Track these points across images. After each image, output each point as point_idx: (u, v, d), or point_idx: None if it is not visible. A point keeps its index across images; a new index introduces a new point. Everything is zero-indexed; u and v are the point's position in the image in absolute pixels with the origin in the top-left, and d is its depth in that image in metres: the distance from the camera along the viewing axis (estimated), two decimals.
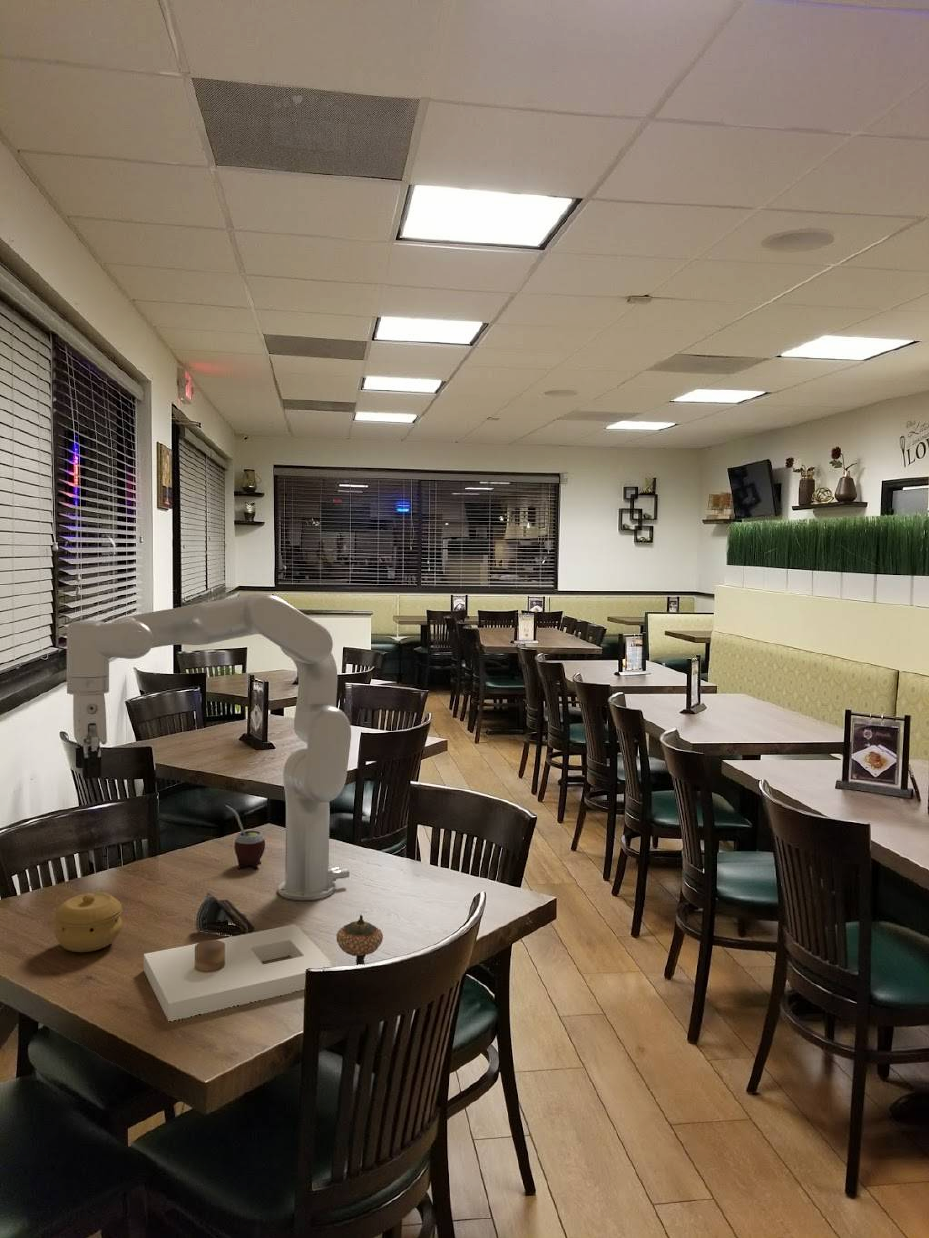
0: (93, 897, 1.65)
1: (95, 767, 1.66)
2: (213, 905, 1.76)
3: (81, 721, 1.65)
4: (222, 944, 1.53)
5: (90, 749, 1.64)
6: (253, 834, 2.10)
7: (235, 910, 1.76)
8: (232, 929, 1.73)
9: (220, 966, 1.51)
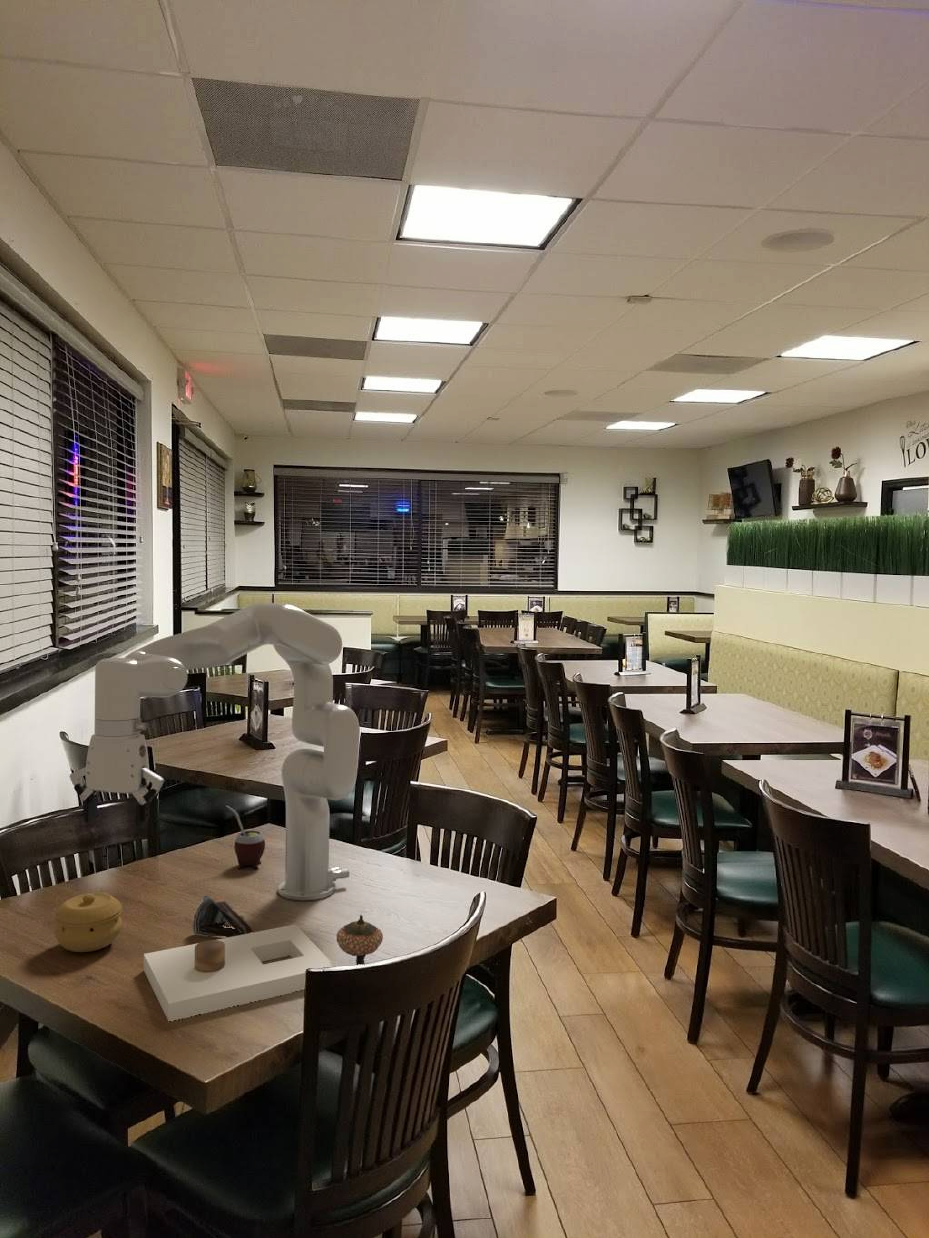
0: (93, 897, 1.65)
1: (148, 812, 1.57)
2: (210, 907, 1.74)
3: (136, 766, 1.54)
4: (222, 944, 1.53)
5: (154, 792, 1.56)
6: (253, 834, 2.10)
7: (233, 912, 1.75)
8: (230, 931, 1.72)
9: (220, 966, 1.51)
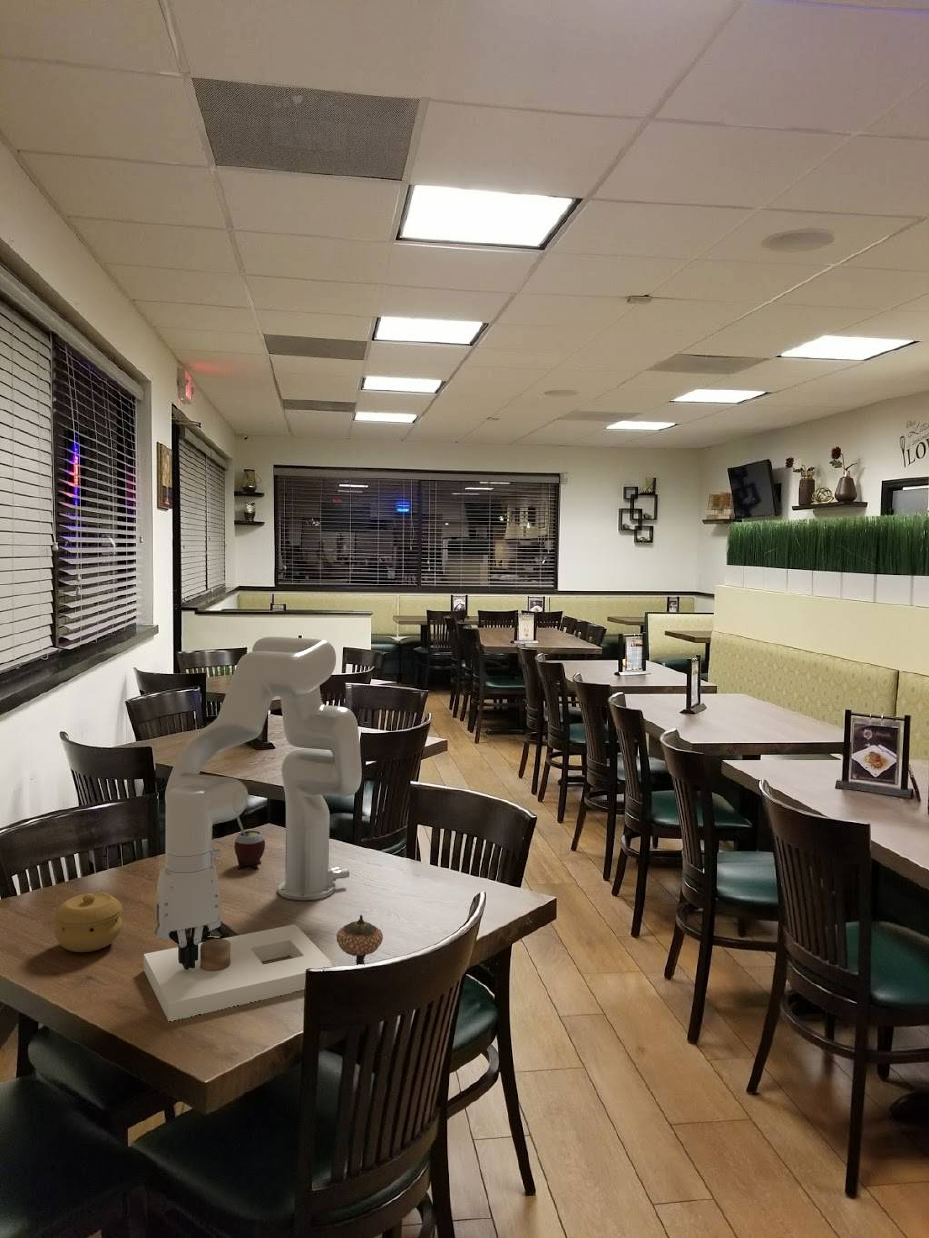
0: (93, 897, 1.65)
1: None
2: None
3: (219, 895, 1.50)
4: (227, 943, 1.53)
5: (208, 929, 1.51)
6: (253, 834, 2.10)
7: None
8: None
9: (226, 965, 1.51)
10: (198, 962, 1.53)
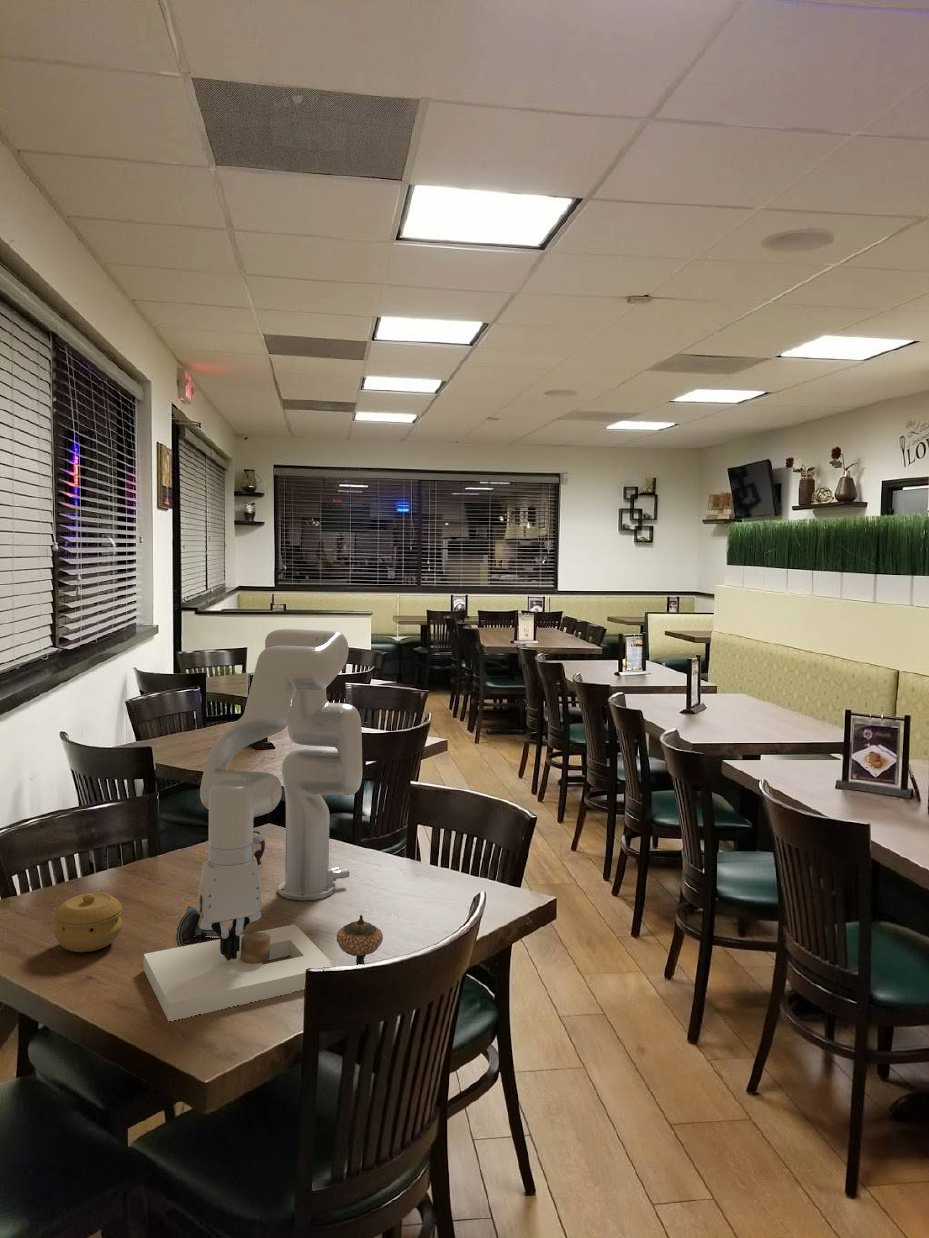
0: (93, 897, 1.65)
1: None
2: (192, 919, 1.69)
3: (260, 887, 1.54)
4: (268, 936, 1.56)
5: (249, 920, 1.54)
6: (253, 834, 2.10)
7: None
8: None
9: (266, 957, 1.55)
10: (198, 962, 1.53)
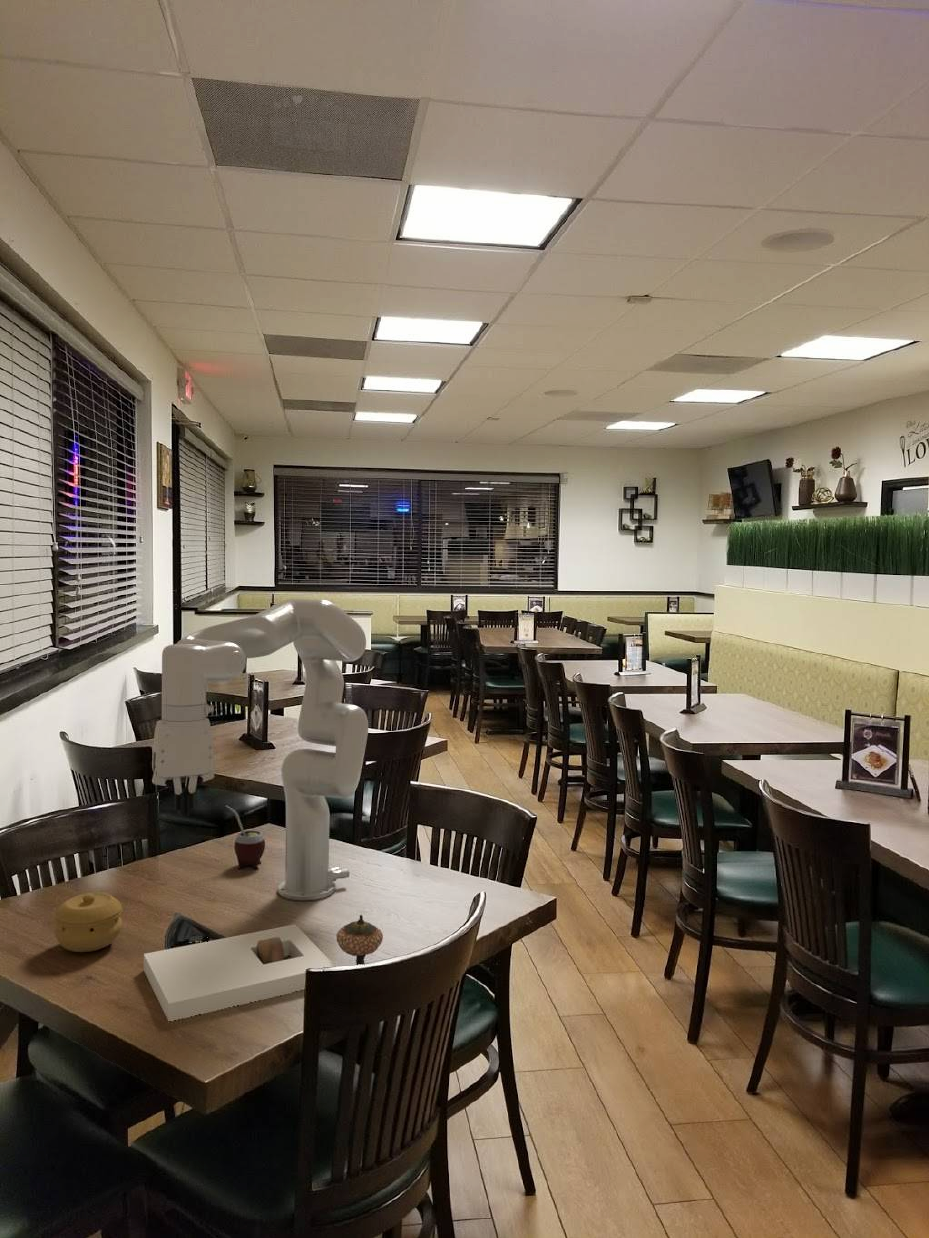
0: (93, 897, 1.65)
1: None
2: (178, 925, 1.66)
3: (212, 747, 1.59)
4: None
5: (202, 779, 1.60)
6: (253, 834, 2.10)
7: None
8: None
9: (267, 958, 1.56)
10: (198, 962, 1.53)
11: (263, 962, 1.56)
